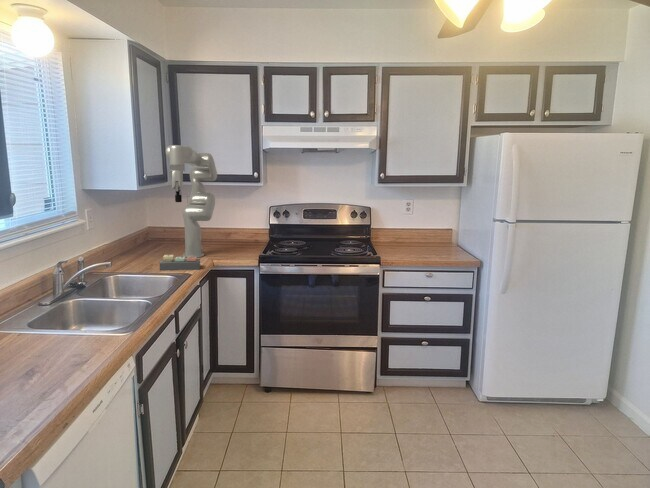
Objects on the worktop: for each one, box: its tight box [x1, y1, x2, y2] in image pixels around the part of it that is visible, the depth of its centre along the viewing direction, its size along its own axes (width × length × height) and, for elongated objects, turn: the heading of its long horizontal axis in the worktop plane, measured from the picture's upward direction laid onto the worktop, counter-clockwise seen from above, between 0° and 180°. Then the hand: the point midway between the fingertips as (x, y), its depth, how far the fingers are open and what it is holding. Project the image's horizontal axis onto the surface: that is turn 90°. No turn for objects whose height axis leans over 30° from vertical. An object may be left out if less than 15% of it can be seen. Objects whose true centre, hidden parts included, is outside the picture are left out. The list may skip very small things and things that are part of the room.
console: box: [159, 258, 201, 272], centre depth 230 cm, size 20×9×4 cm, turn 103°
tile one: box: [162, 254, 175, 262], centre depth 229 cm, size 5×5×5 cm
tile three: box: [186, 256, 198, 262], centre depth 231 cm, size 5×5×5 cm
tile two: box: [174, 256, 186, 262], centre depth 230 cm, size 5×5×5 cm
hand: (178, 202), depth 235 cm, fingers closed
